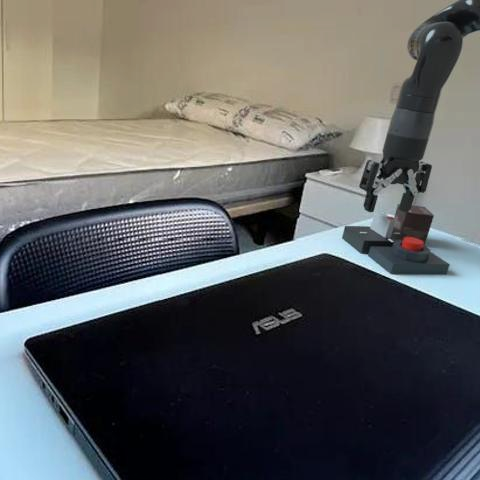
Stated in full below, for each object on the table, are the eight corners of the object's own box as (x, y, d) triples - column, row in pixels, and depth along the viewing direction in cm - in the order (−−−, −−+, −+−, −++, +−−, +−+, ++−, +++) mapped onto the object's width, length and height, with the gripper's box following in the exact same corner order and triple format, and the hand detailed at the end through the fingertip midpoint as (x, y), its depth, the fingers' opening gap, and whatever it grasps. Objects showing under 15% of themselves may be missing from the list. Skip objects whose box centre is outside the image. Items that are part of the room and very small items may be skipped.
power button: (413, 244, 99) (416, 236, 99) (425, 252, 96) (428, 244, 95) (397, 244, 99) (400, 236, 98) (408, 252, 95) (411, 244, 95)
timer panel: (389, 238, 112) (393, 225, 111) (414, 255, 104) (419, 241, 102) (340, 237, 110) (343, 224, 109) (362, 255, 102) (366, 241, 100)
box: (424, 247, 109) (435, 215, 106) (396, 243, 109) (405, 211, 107) (416, 236, 114) (425, 206, 111) (388, 233, 115) (397, 203, 112)
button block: (420, 256, 104) (426, 239, 102) (446, 274, 96) (452, 255, 95) (367, 256, 101) (372, 238, 100) (390, 274, 94) (396, 255, 93)
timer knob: (370, 228, 108) (375, 210, 106) (375, 228, 108) (380, 210, 106) (385, 237, 103) (390, 218, 102) (390, 237, 104) (396, 218, 102)
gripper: (390, 135, 92) (367, 217, 98) (452, 138, 96) (427, 217, 102) (365, 127, 99) (346, 205, 105) (424, 130, 102) (402, 205, 109)
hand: (386, 211), depth 104 cm, fingers open, 8 cm apart
